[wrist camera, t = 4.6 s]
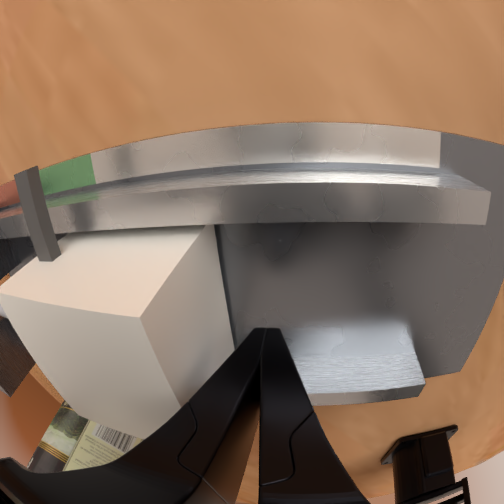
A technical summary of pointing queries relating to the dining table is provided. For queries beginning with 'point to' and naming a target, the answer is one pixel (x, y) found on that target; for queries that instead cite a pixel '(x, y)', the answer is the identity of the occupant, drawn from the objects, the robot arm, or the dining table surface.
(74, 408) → the white cube with rod
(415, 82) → the dining table surface
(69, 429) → the coffee can
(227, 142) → the gauge track
